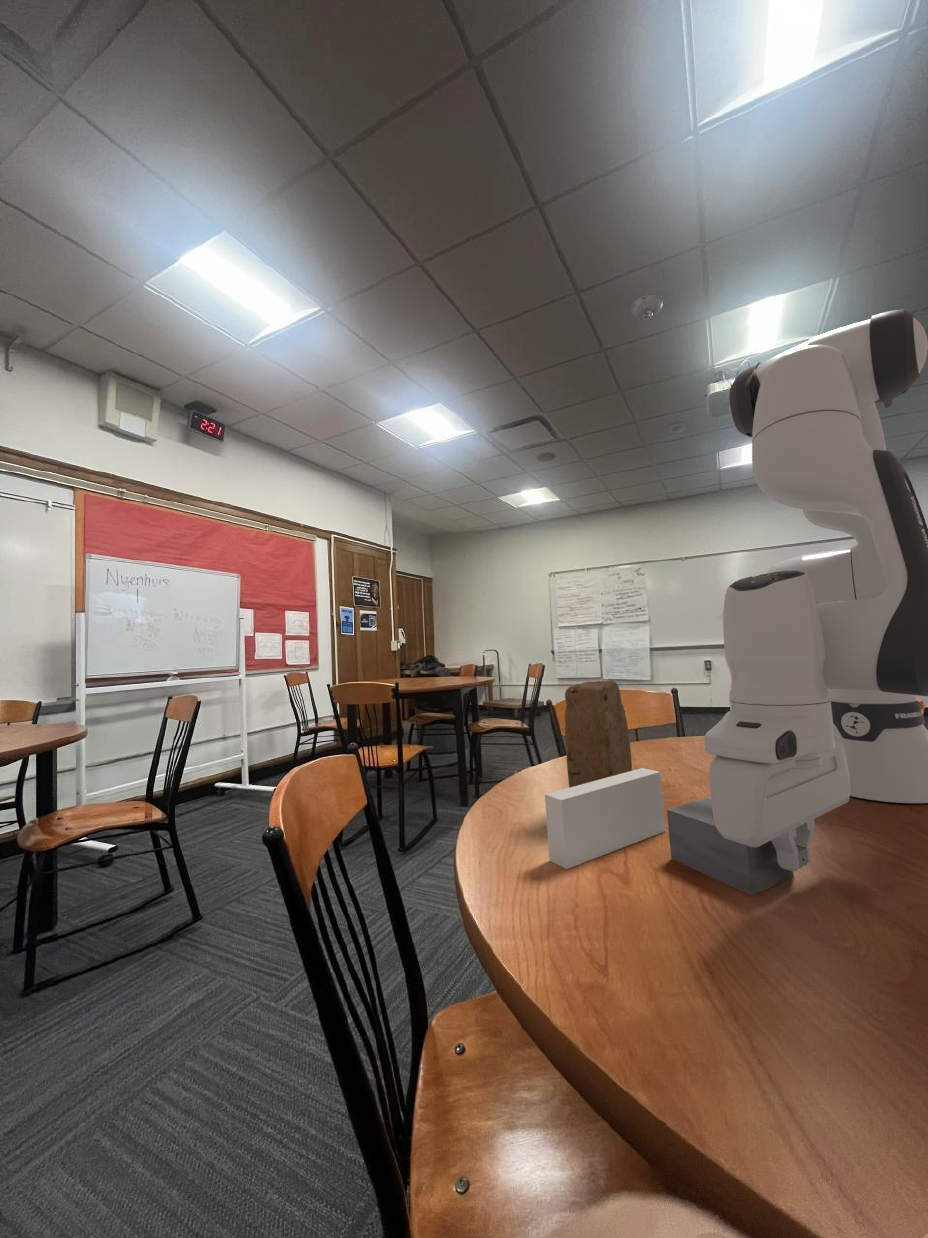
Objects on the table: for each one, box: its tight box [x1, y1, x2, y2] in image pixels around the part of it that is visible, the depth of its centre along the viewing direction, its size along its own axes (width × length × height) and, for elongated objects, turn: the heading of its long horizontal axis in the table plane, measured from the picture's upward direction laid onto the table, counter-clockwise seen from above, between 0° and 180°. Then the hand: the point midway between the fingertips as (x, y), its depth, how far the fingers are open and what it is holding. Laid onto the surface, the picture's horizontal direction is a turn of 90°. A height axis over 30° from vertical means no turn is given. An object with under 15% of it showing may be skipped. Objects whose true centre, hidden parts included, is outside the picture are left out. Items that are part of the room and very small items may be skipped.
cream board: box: [544, 767, 666, 870], centre depth 63 cm, size 18×3×8 cm, turn 121°
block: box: [564, 680, 633, 788], centre depth 77 cm, size 11×8×20 cm
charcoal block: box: [666, 798, 795, 896], centre depth 55 cm, size 7×10×6 cm
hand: (794, 865), depth 49 cm, fingers closed
